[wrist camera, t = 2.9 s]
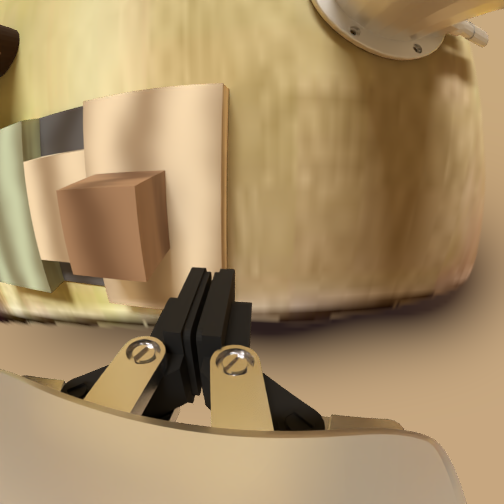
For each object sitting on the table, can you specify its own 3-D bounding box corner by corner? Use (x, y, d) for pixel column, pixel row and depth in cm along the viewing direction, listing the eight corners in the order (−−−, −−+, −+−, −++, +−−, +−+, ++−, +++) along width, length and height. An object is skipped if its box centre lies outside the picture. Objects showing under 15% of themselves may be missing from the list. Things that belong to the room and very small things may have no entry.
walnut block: (165, 170, 18) (134, 185, 14) (170, 248, 21) (146, 282, 16) (95, 174, 19) (56, 190, 14) (105, 245, 21) (73, 274, 17)
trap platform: (228, 89, 18) (211, 72, 12) (227, 295, 26) (215, 347, 20) (-15, 139, 19) (-55, 152, 13) (9, 270, 27) (-22, 296, 21)
